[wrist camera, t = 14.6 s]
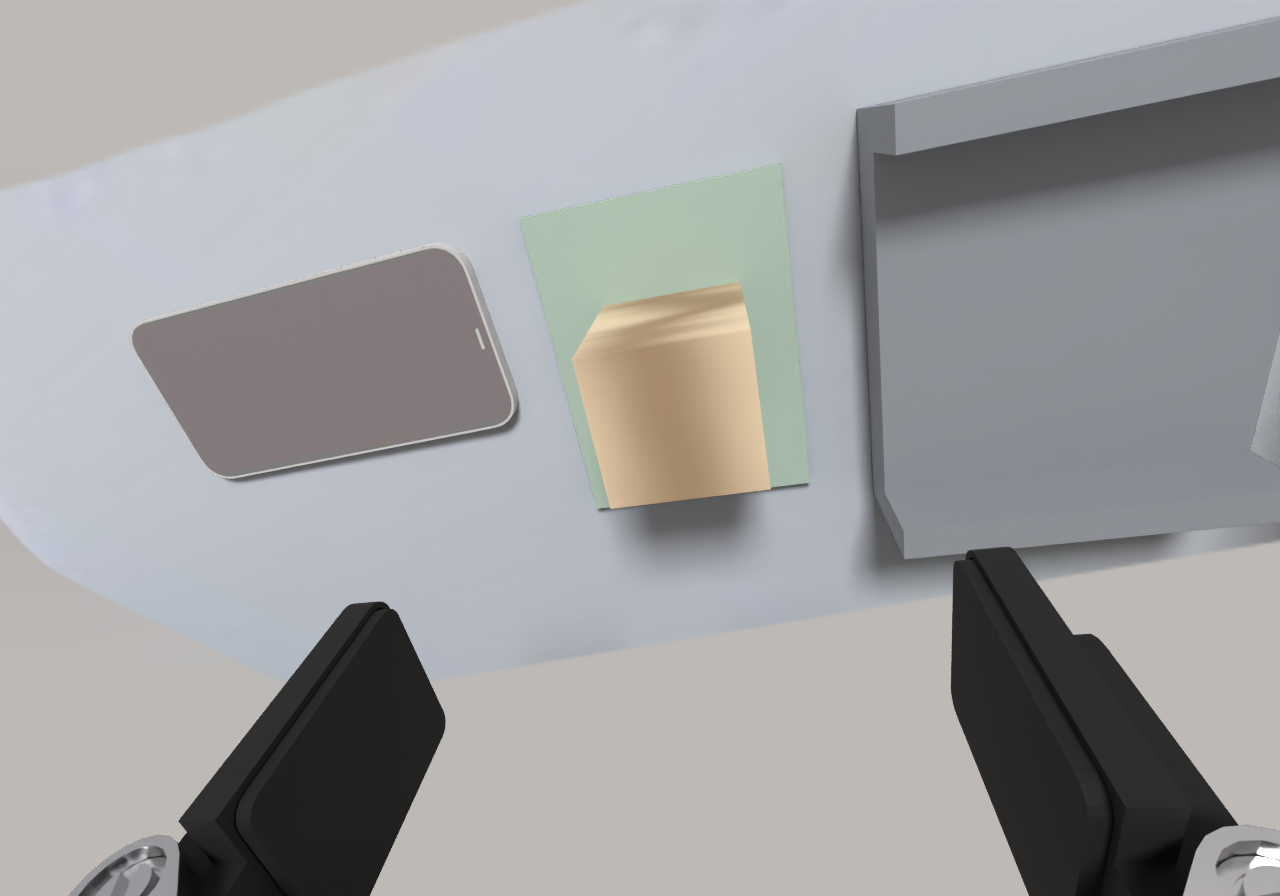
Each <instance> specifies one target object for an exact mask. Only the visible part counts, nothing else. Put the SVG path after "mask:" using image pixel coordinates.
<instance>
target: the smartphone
mask: <svg viewBox="0 0 1280 896" xmlns="http://www.w3.org/2000/svg"><path fill="white" fill-rule="evenodd" d="M129 337H130V344H131V347H132V349H133V351H134V353H135V355H136V357H137V358H138V360H139V362H140V363H141V365H142V367H143V368H144V370H145V372H146V373H147V375H148V376H149V378H150V380H151V381H152V383H153V385H154V386H155V388H156V389H157V391H158V393H159V394H160V396H161V398H162V399H163V401H164V403H165V404H166V406H167V407H168V409H169V411H170V412H171V414H172V416H173V417H174V419H175V420H176V422H177V424H178V425H179V427H180V429H181V430H182V432H183V434H184V435H185V437H186V438H187V440H188V442H189V443H190V445H191V447H192V448H193V450H194V451H195V453H196V455H197V456H198V458H199V460H200V461H201V462H202V464H203V465H204V466H205V467H206V468H207V469H208V470H209V471H211V472H212V473H213V474H215V475H217V476H219V477H223V478H228V479H233V478H239V477H245V476H250V475H255V474H260V473H265V472H270V471H275V470H281V469H286V468H291V467H296V466H301V465H306V464H311V463H317V462H322V461H327V460H332V459H337V458H342V457H347V456H353V455H358V454H363V453H368V452H373V451H378V450H384V449H389V448H394V447H399V446H404V445H409V444H414V443H420V442H425V441H430V440H435V439H440V438H445V437H450V436H456V435H461V434H466V433H471V432H476V431H481V430H486V429H492V428H496V427H499V426H502V425H504V424H505V423H507V422H508V421H509V420H510V418H511V417H512V415H513V414H514V413H515V411H516V409H517V406H518V393H517V390H516V387H515V384H514V381H513V378H512V375H511V372H510V370H509V367H508V364H507V361H506V358H505V355H504V353H503V350H502V347H501V344H500V341H499V339H498V336H497V333H496V330H495V327H494V325H493V322H492V319H491V316H490V313H489V311H488V308H487V305H486V302H485V299H484V297H483V294H482V291H481V288H480V285H479V282H478V280H477V277H476V274H475V271H474V269H473V266H472V264H471V262H470V260H469V259H468V257H467V256H466V255H465V254H464V253H463V252H462V251H461V250H460V249H459V248H457V247H456V246H453V245H451V244H448V243H432V244H428V245H424V246H420V247H416V248H413V249H409V250H405V251H401V250H400V251H396V252H392V253H388V254H386V256H383V257H379V258H376V257H375V258H372V259H368V260H364V261H360V262H356V263H353V264H349V265H347V266H345V267H342V266H341V267H338V268H334V269H330V270H326V271H322V272H319V273H315V274H314V275H311V276H307V277H303V278H299V279H296V280H292V281H288V282H284V283H281V284H277V285H273V286H269V287H265V288H262V289H258V290H254V291H250V292H247V293H243V294H239V295H235V296H231V297H228V298H224V299H220V300H216V301H213V302H209V303H205V304H201V305H198V306H194V307H190V308H186V309H182V310H179V311H175V312H171V313H167V314H163V315H160V316H156V317H153V318H149V319H146V320H144V321H141V322H138V323H137V324H135V325H134V326H133V327H132V329H131V331H130V336H129Z"/></svg>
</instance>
